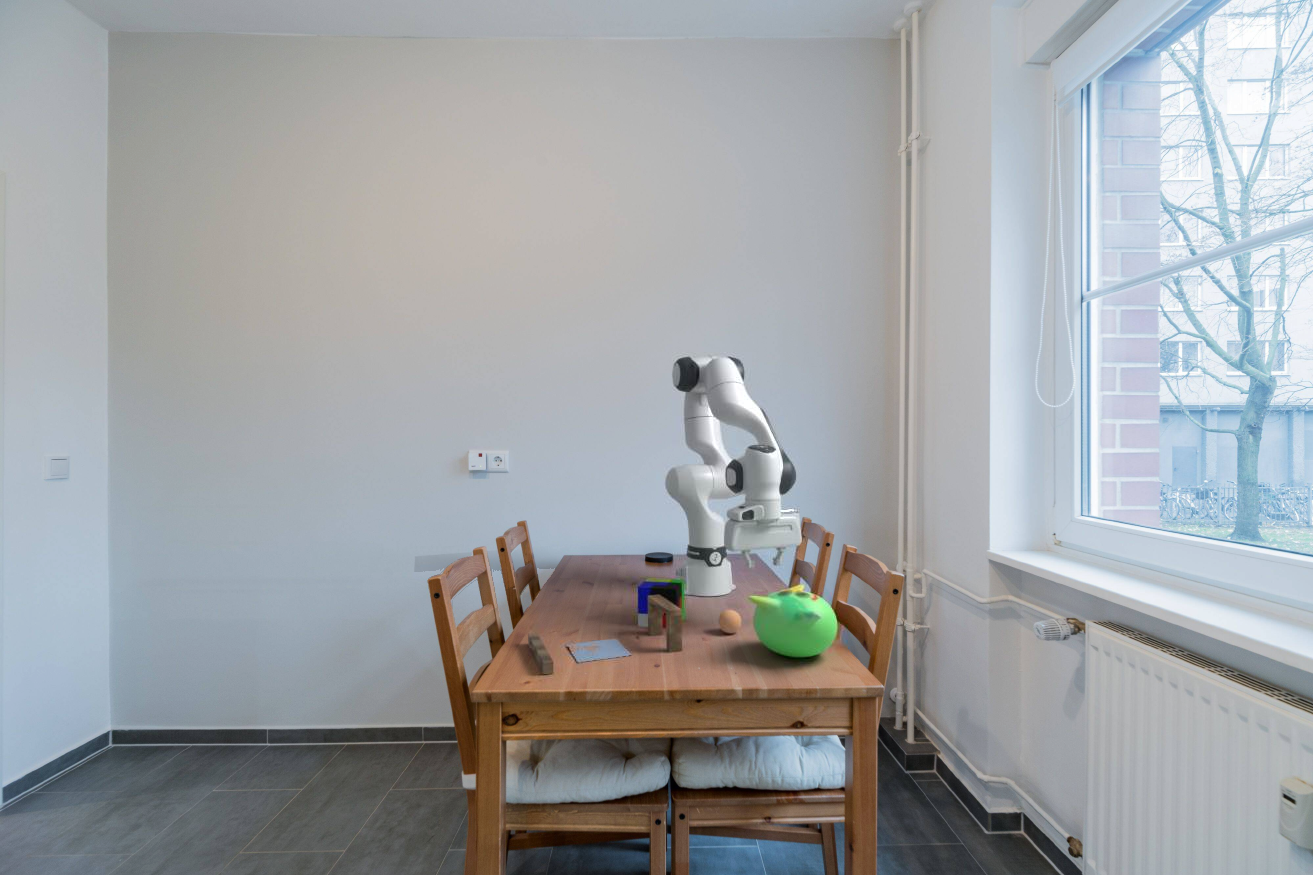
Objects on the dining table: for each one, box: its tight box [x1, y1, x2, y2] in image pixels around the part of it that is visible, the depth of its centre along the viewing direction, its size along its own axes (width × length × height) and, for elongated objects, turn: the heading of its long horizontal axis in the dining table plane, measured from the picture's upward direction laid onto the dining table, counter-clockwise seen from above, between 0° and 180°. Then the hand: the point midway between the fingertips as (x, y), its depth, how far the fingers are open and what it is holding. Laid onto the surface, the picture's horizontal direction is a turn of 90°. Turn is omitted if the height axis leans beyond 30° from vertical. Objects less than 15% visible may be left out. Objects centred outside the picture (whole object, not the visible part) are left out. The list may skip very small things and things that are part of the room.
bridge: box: [647, 595, 683, 653], centre depth 149 cm, size 3×14×9 cm, turn 20°
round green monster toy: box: [747, 584, 838, 658], centre depth 139 cm, size 18×17×15 cm
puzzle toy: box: [637, 578, 686, 629], centre depth 165 cm, size 10×10×10 cm
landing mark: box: [566, 638, 632, 664], centre depth 143 cm, size 12×12×1 cm
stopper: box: [527, 632, 554, 675], centre depth 139 cm, size 20×2×2 cm, turn 20°
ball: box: [718, 609, 742, 634], centre depth 155 cm, size 6×6×6 cm
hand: (763, 566), depth 158 cm, fingers open, 6 cm apart
